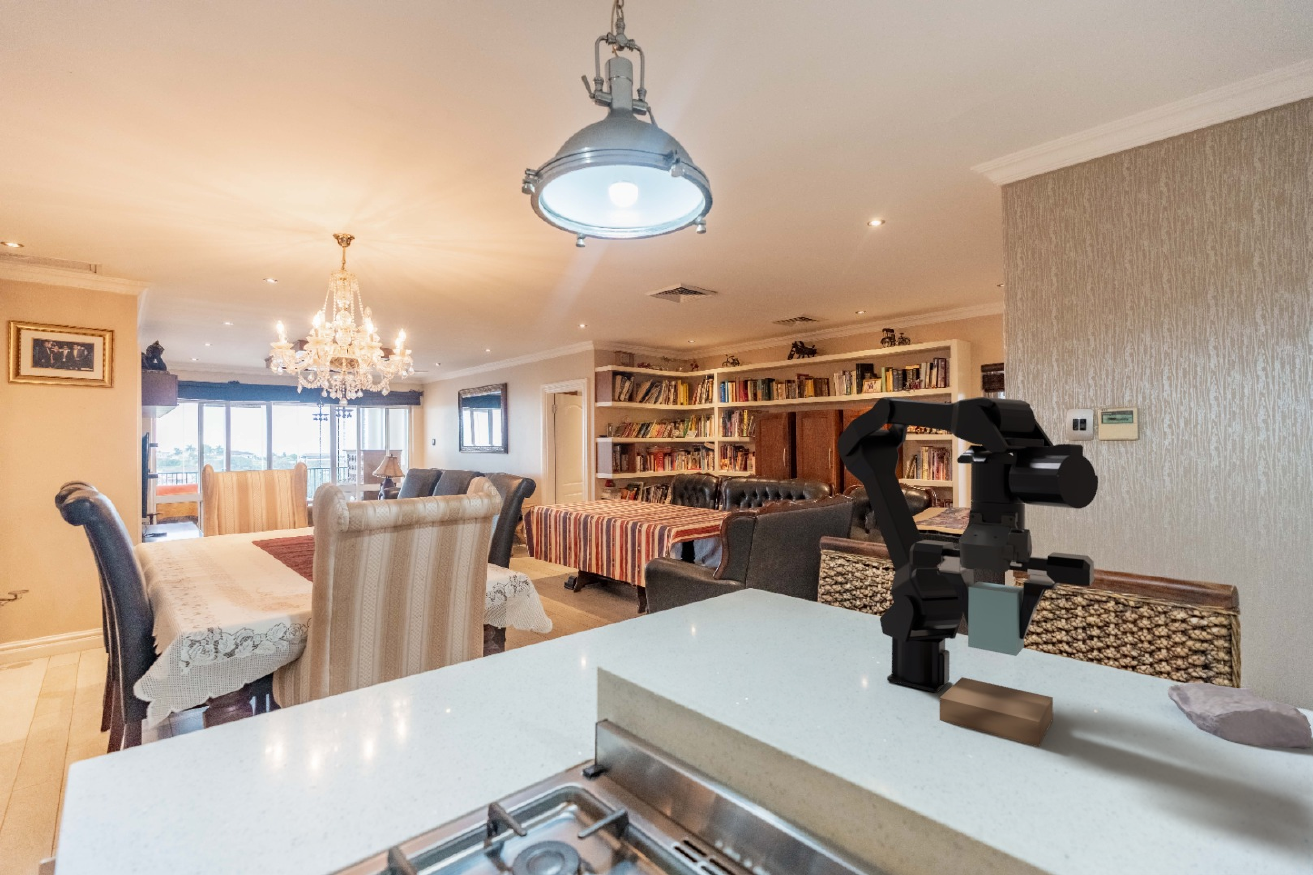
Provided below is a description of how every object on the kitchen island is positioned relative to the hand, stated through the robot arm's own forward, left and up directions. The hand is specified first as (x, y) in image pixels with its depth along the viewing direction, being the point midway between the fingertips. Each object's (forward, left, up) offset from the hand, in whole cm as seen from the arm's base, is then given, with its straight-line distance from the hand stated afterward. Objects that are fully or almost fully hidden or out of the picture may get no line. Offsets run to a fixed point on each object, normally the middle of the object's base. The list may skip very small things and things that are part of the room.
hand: (996, 633), depth 74 cm
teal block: (0, 0, -2) cm, 2 cm away
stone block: (+21, +18, -10) cm, 30 cm away
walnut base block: (0, 0, -10) cm, 10 cm away
